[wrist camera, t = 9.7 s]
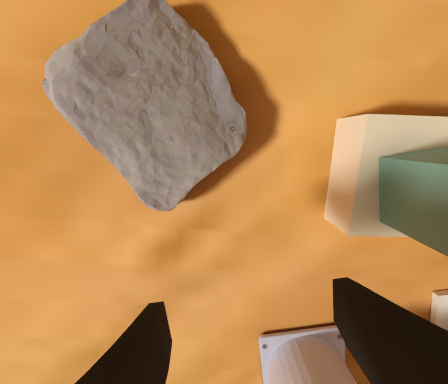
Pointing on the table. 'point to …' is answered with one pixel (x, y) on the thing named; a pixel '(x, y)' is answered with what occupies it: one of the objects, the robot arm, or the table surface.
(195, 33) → the stone block
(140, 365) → the robot arm
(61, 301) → the table surface
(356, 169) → the cream base block
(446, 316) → the placard
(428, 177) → the teal block
